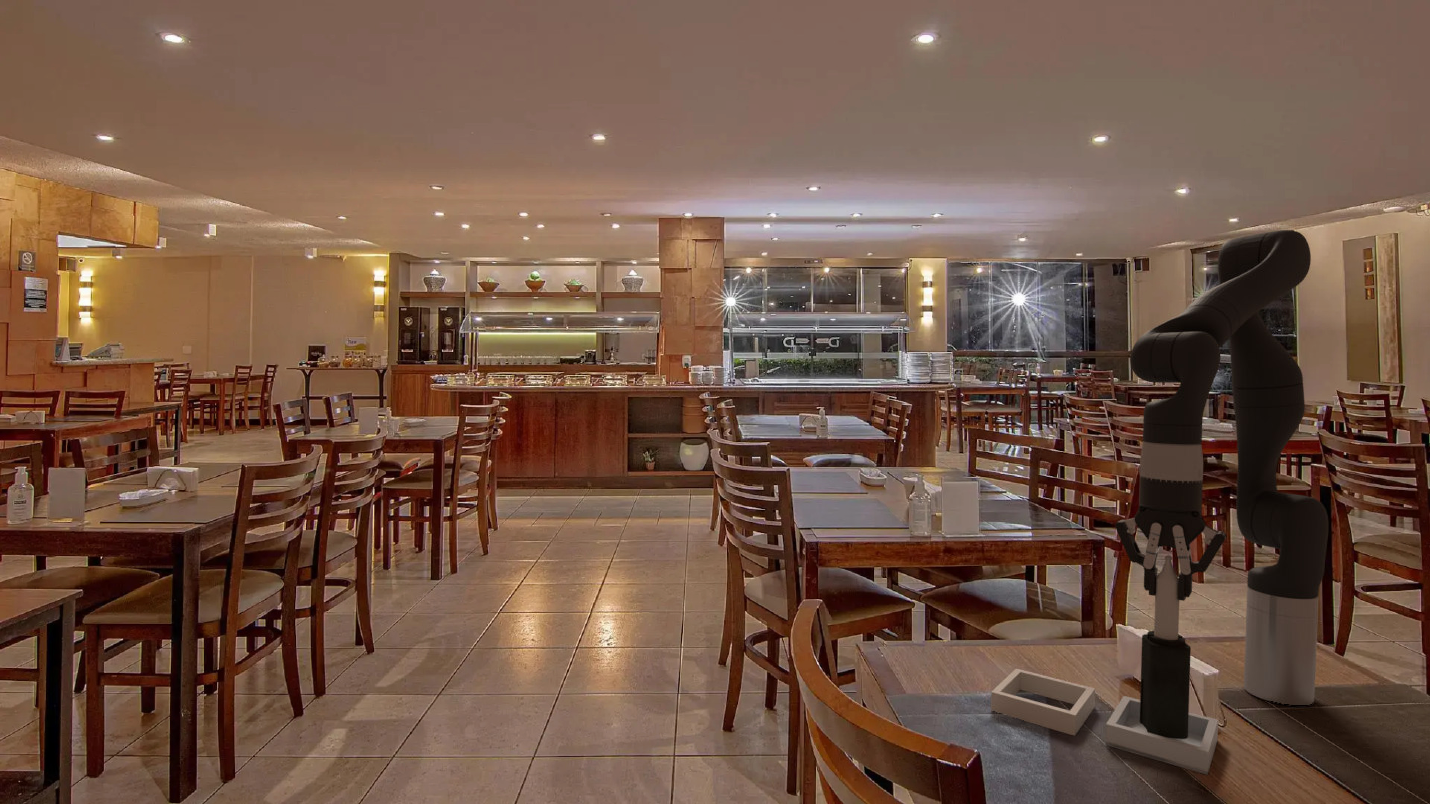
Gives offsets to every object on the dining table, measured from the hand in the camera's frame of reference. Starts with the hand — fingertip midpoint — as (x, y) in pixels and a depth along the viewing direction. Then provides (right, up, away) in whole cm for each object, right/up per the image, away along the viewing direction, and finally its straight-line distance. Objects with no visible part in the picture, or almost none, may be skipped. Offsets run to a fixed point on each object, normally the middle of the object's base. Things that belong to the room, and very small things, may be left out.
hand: (1167, 596), depth 103 cm
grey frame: (-13, -21, +11) cm, 26 cm away
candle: (0, -19, +1) cm, 19 cm away
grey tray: (0, -21, +1) cm, 21 cm away
